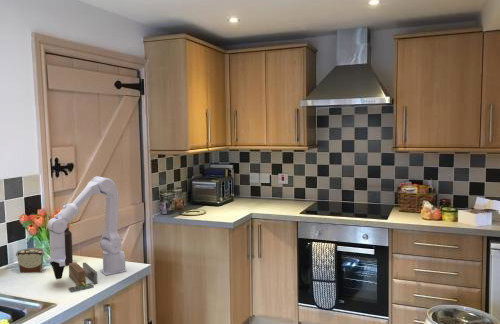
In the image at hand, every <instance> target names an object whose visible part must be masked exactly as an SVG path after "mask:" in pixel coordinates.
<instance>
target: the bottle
mask: <svg viewBox="0 0 500 324" xmlns="http://www.w3.org/2000/svg"><path fill="white" fill-rule="evenodd" d="M69 229H70V222H69V223H68V224H67V228H66V230H65V231H64V235H65V256H66V259H65V262H66V265H65V267H66V266H67V267H68V266H69V263H74V261H73V260H74V259H73V257H74V256H73V234H72V232H71V231H70V230H69Z"/></svg>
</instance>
